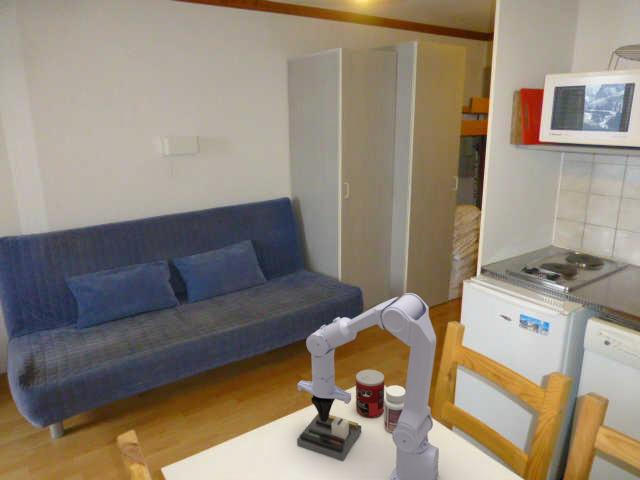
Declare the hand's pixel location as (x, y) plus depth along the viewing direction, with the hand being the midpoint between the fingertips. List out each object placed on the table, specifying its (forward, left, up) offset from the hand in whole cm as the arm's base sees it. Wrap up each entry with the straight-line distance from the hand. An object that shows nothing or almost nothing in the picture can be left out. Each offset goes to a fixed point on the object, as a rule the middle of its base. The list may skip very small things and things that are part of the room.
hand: (324, 419), depth 123 cm
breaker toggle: (-4, 0, -3) cm, 6 cm away
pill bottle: (-15, -12, -6) cm, 20 cm away
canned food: (-6, -16, -6) cm, 18 cm away
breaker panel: (-1, 0, -6) cm, 6 cm away
